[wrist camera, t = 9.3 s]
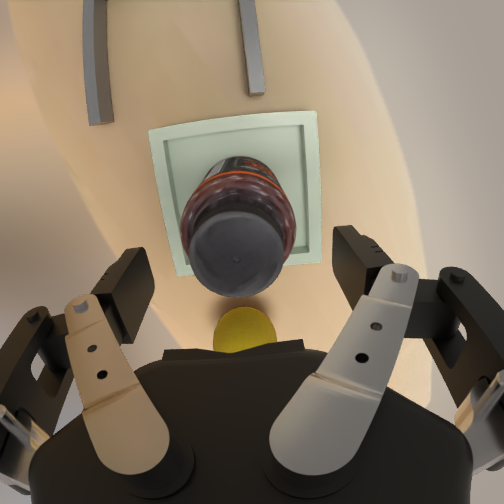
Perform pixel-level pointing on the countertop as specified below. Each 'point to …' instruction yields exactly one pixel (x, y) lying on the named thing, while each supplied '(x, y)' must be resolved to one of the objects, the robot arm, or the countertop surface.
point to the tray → (250, 145)
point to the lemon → (243, 330)
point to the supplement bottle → (238, 228)
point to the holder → (98, 58)
